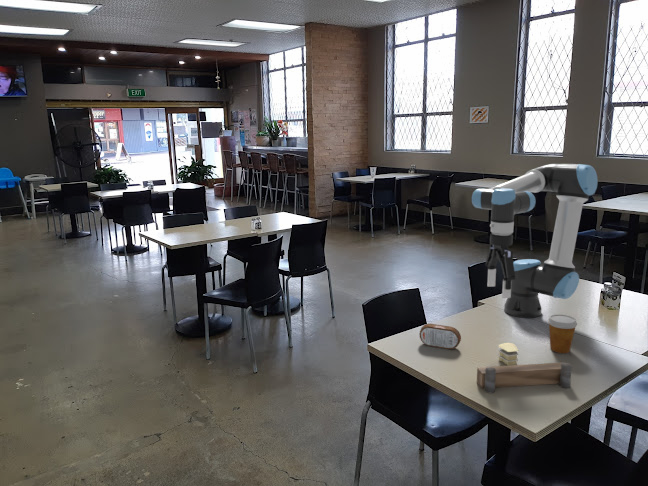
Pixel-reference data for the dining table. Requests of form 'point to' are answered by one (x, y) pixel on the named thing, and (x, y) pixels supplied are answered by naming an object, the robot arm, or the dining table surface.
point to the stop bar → (524, 375)
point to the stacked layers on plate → (508, 353)
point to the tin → (440, 336)
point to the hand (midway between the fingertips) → (498, 291)
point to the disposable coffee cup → (561, 332)
